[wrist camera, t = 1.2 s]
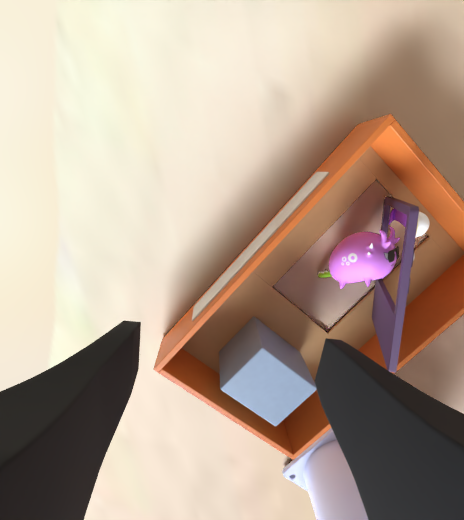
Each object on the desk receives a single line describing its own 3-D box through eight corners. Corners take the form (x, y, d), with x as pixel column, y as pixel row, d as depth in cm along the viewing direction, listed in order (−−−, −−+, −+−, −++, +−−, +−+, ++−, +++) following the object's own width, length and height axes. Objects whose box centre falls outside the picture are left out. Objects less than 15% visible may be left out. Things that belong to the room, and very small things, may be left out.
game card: (411, 377, 16) (438, 206, 13) (310, 361, 17) (318, 207, 15) (387, 319, 22) (403, 196, 19) (315, 312, 23) (321, 197, 21)
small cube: (300, 352, 23) (318, 389, 19) (265, 385, 23) (275, 427, 20) (253, 315, 21) (262, 347, 18) (218, 351, 22) (219, 389, 18)
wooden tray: (471, 250, 21) (520, 266, 18) (282, 421, 25) (293, 460, 22) (358, 121, 18) (391, 110, 15) (161, 338, 22) (151, 368, 18)
